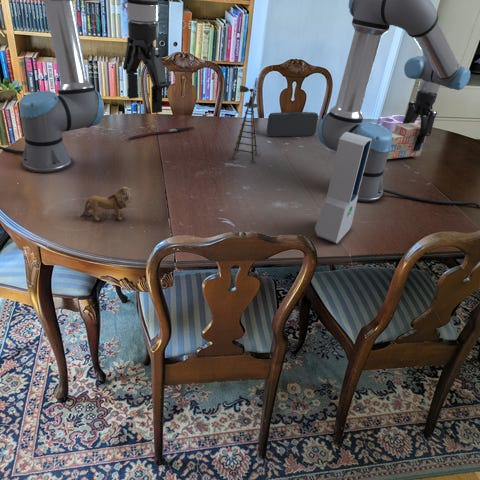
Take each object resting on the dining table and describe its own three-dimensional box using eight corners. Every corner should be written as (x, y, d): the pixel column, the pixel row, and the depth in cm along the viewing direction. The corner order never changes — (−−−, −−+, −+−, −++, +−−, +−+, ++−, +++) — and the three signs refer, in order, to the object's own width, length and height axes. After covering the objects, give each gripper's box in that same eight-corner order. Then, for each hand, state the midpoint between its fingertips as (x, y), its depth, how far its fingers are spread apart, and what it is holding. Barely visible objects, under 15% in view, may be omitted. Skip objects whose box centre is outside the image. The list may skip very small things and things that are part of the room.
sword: (190, 126, 202) (190, 124, 201) (194, 129, 200) (194, 126, 199) (124, 139, 186) (124, 136, 186) (127, 141, 184) (127, 139, 184)
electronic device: (336, 245, 132) (360, 146, 116) (312, 236, 135) (332, 138, 119) (351, 228, 141) (376, 133, 125) (328, 220, 144) (350, 126, 128)
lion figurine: (131, 210, 139) (130, 182, 134) (134, 219, 134) (133, 191, 130) (79, 214, 134) (76, 186, 129) (80, 224, 129) (77, 195, 125)
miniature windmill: (253, 162, 176) (262, 82, 160) (231, 159, 177) (238, 78, 161) (257, 154, 184) (266, 76, 168) (236, 150, 185) (243, 72, 169)
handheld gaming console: (312, 133, 210) (316, 111, 205) (315, 135, 208) (319, 113, 203) (265, 134, 203) (268, 112, 198) (267, 137, 201) (270, 114, 196)
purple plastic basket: (384, 139, 212) (388, 124, 209) (370, 129, 222) (373, 115, 218) (420, 137, 219) (425, 123, 215) (404, 128, 228) (409, 114, 225)
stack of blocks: (380, 160, 187) (388, 130, 180) (370, 154, 191) (378, 125, 185) (420, 155, 195) (429, 127, 189) (410, 150, 200) (418, 122, 193)
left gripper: (182, 30, 112) (180, 116, 124) (133, 13, 128) (136, 91, 140) (154, 31, 108) (155, 120, 120) (108, 13, 124) (112, 93, 135)
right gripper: (453, 98, 177) (433, 155, 189) (417, 84, 191) (401, 138, 203) (438, 99, 174) (420, 157, 186) (403, 84, 188) (388, 139, 200)
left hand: (144, 104), depth 130 cm, fingers open, 13 cm apart
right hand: (410, 147), depth 195 cm, fingers closed on stack of blocks, 6 cm apart
